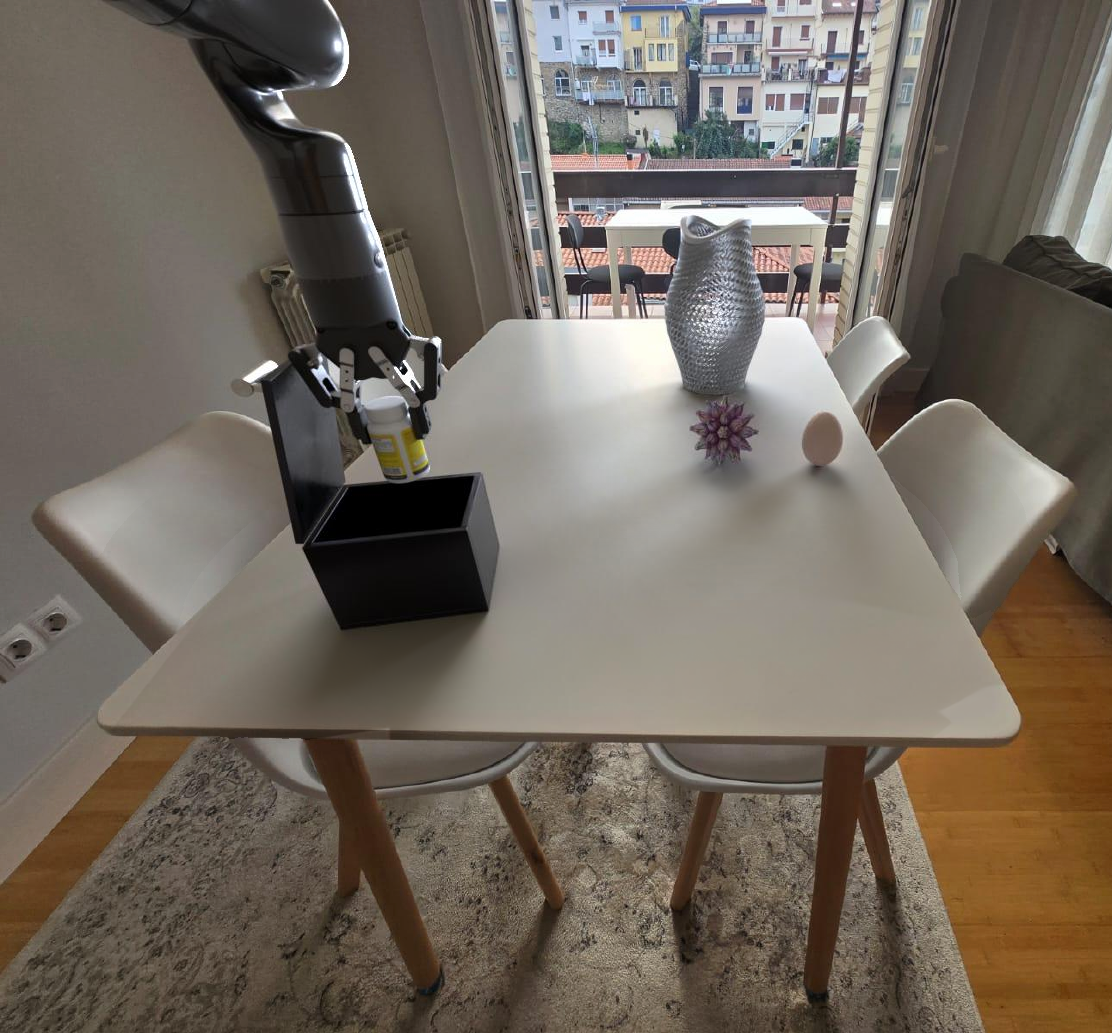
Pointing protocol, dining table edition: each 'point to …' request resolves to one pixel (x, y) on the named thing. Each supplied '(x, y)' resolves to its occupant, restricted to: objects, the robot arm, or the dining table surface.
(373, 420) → the supplement bottle
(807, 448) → the egg
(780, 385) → the dining table surface
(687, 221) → the vase
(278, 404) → the box lid
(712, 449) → the flower
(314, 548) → the black box
